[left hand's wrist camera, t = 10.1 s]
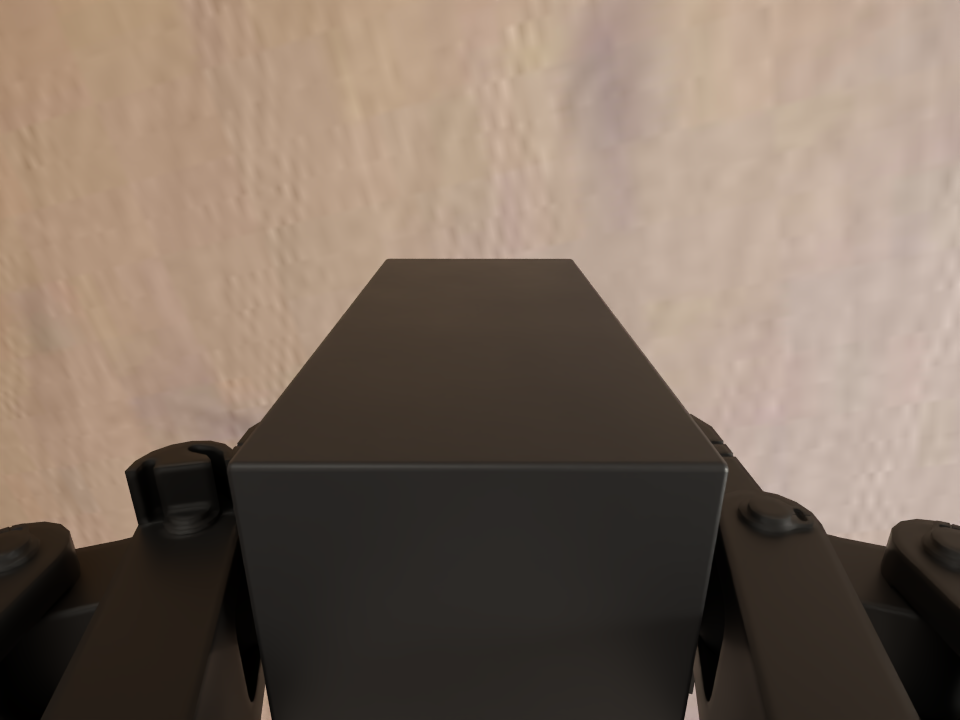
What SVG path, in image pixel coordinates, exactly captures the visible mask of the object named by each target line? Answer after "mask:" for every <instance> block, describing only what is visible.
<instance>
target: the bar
mask: <svg viewBox="0 0 960 720" xmlns="http://www.w3.org/2000/svg"><path fill="white" fill-rule="evenodd" d="M227 474H228V479H229V485H230V490H231V496H232V501H233V507H234V512H235V518H236V524H237V529H238V535H239V540H240V546H241V551H242V557H243V562H244V568H245V574H246V579H247V585H248V590H249V596H250V601H251V607H252V612H253V618H254V623H255V629H256V635H257V640H258V646H259V651H260V657H261V662H262V668H263V673H264V679H265V685H266V690H267V696H268V701H269V707H270V712H271V718H272V720H684V717H685V712H686V706H687V700H688V695H689V689H690V684H691V678H692V672H693V667H694V661H695V656H696V650H697V644H698V639H699V633H700V627H701V622H702V616H703V611H704V605H705V599H706V594H707V588H708V583H709V577H710V571H711V566H712V560H713V555H714V549H715V543H716V538H717V532H718V527H719V521H720V515H721V510H722V504H723V499H724V493H725V487H726V482H727V476H728V466H727V463H726V461H725V460H724V459H723V458H722V456H721V455H720V454H719V452H718V451H717V450H716V448H715V447H714V446H713V444H712V443H711V442H710V440H709V439H708V438H707V436H706V435H705V434H704V432H703V431H702V430H701V429H700V427H699V426H698V425H697V423H696V422H695V421H694V419H693V418H692V417H691V415H690V414H689V413H688V411H687V410H686V409H685V407H684V406H683V405H682V404H681V402H680V401H679V400H678V398H677V397H676V396H675V394H674V393H673V392H672V390H671V389H670V388H669V386H668V385H667V384H666V382H665V381H664V380H663V378H662V377H661V376H660V375H659V373H658V372H657V371H656V369H655V368H654V367H653V365H652V364H651V363H650V361H649V360H648V359H647V357H646V356H645V355H644V353H643V352H642V351H641V350H640V348H639V347H638V346H637V344H636V343H635V342H634V340H633V339H632V338H631V336H630V335H629V334H628V332H627V331H626V330H625V328H624V327H623V326H622V324H621V323H620V322H619V321H618V319H617V318H616V317H615V315H614V314H613V313H612V311H611V310H610V309H609V307H608V306H607V305H606V303H605V302H604V301H603V299H602V298H601V297H600V296H599V294H598V293H597V292H596V290H595V289H594V288H593V286H592V285H591V284H590V282H589V281H588V280H587V278H586V277H585V276H584V274H583V273H582V272H581V270H580V269H579V268H578V267H577V265H576V264H575V263H574V261H573V260H571V259H387V260H386V261H385V262H384V263H383V265H382V266H381V267H380V268H379V270H378V271H377V272H376V274H375V275H374V276H373V277H372V279H371V280H370V281H369V283H368V284H367V285H366V286H365V288H364V289H363V290H362V292H361V293H360V294H359V295H358V297H357V298H356V299H355V301H354V302H353V303H352V304H351V306H350V307H349V308H348V310H347V311H346V312H345V314H344V315H343V316H342V317H341V319H340V320H339V321H338V323H337V324H336V325H335V326H334V328H333V329H332V330H331V332H330V333H329V334H328V335H327V337H326V338H325V339H324V341H323V342H322V343H321V344H320V346H319V347H318V348H317V350H316V351H315V352H314V353H313V355H312V356H311V357H310V359H309V360H308V361H307V362H306V364H305V365H304V366H303V368H302V369H301V370H300V371H299V373H298V374H297V375H296V377H295V378H294V379H293V380H292V382H291V383H290V384H289V386H288V387H287V388H286V389H285V391H284V392H283V393H282V395H281V396H280V397H279V399H278V400H277V401H276V402H275V404H274V405H273V406H272V408H271V409H270V410H269V411H268V413H267V414H266V415H265V417H264V418H263V419H262V420H261V422H260V423H259V424H258V426H257V427H256V428H255V429H254V431H253V432H252V433H251V435H250V436H249V437H248V438H247V440H246V441H245V442H244V444H243V445H242V446H241V447H240V449H239V450H238V451H237V453H236V454H235V455H234V456H233V458H232V459H231V460H230V462H229V463H228V467H227Z"/></svg>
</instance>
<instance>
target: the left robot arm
mask: <svg viewBox="0 0 960 720" xmlns="http://www.w3.org/2000/svg"><path fill="white" fill-rule="evenodd" d="M690 415H691V417H692V418H693V419H694V421H695V422H696V423H697V425H698V426H699V427H700V429H701V430H702V431H703V432H704V434H705V435H706V436H707V438H708V439H709V440H710V442H711V443H712V444H713V446H714V447H715V448H716V450H717V451H718V452H719V454H720V455H721V456H722V458H723V459H724V460H725V461H726V463H727V466H728V476H727V482H726V487H725V493H724V499H723V504H722V510H721V515H720V521H719V527H718V532H717V538H716V543H715V549H714V555H713V560H712V566H711V571H710V577H709V583H708V588H707V594H706V599H705V605H704V611H703V616H702V622H701V627H700V633H699V639H698V644H697V650H696V656H695V661H694V667H693V672H692V678H691V684H690V689H689V694H692V693H693V688H694V682H695V688H696V696H697V704H698V711H699V719H700V720H960V526H958V525H954V524H952V525H950V523H946V522H941V521H931V520H922V519H913V520H907V521H901V522H899V523H898V524H897V525H896V526H894V527H893V528H892V530H891V533H890V536H889V539H888V543H887V546H880V545H875V544H870V543H865V542H860V541H855V540H850V539H845V538H840V537H836V536H832V535H828V534H826V532H825V530H824V528H823V526H822V524H821V523H820V522H819V520H818V519H817V518H816V517H815V516H814V514H813V513H812V512H810V511H809V510H807V509H806V508H804V507H803V506H801V505H800V504H798V503H797V502H795V501H792V500H790V499H787V498H785V497H783V496H780V495H778V494H773V493H768V492H764V491H762V489H761V488H760V487H759V486H758V484H757V483H756V482H755V481H754V479H753V478H752V477H751V475H750V474H749V473H748V472H747V470H746V469H745V468H744V467H743V465H742V464H741V463H740V462H739V460H738V459H737V458H736V457H733V453H732V452H731V450H730V449H729V448H728V447H727V445H726V444H723V440H722V439H721V438H720V436H719V435H718V434H717V433H716V431H715V430H714V429H713V428H712V427H711V426H710V425H708V424H706V423H705V422H703V421H702V420H700V419H698V418H697V417H695V416H693V415H692V414H690ZM259 423H260V422H259ZM259 423H257V424H256V425H254V426H253V427H251V428H249V429H248V431H247V432H246V433H245V434H244V436H243V437H242V438H241V439H240V441H239V442H238V443H237V444H238V445H237V446H235V447H234V448H233V450H232V449H231V448H230V447H228V446H227V445H226V444H223V443H218V442H214V441H190V442H184V443H179V444H173V445H170V446H167V447H164V448H161V449H158V450H155V451H152V452H150V453H149V454H147V455H145V456H143V457H141V458H140V459H138V460H136V461H135V462H134V463H133V464H132V465H131V466H130V467H129V468H128V469H127V470H126V471H125V475H126V478H127V482H128V486H129V490H130V494H131V498H132V502H133V506H134V509H135V513H136V517H137V521H138V527H137V529H136V531H135V533H134V535H133V537H131V538H127V539H123V540H119V541H114V542H109V543H104V544H99V545H94V546H88V547H83V548H78V549H75V547H74V544H73V541H72V538H71V534H70V531H69V530H68V529H66V528H65V527H64V526H62V525H61V524H57V523H50V522H36V523H27V524H19V525H14V526H12V527H10V528H9V527H6V528H3V529H0V720H261V713H262V705H263V697H264V689H265V679H264V673H263V668H262V662H261V657H260V651H259V646H258V640H257V635H256V629H255V623H254V618H253V612H252V607H251V601H250V596H249V590H248V585H247V579H246V574H245V568H244V562H243V557H242V551H241V546H240V540H239V535H238V529H237V524H236V518H235V512H234V507H233V501H232V496H231V490H230V485H229V479H228V474H227V467H228V463H229V462H230V460H231V459H232V458H233V456H234V455H235V454H236V453H237V451H238V450H239V449H240V447H241V446H242V445H243V444H244V442H245V441H246V440H247V438H248V437H249V436H250V435H251V433H252V432H253V431H254V429H255V428H256V427H257V426H258V424H259Z"/></svg>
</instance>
